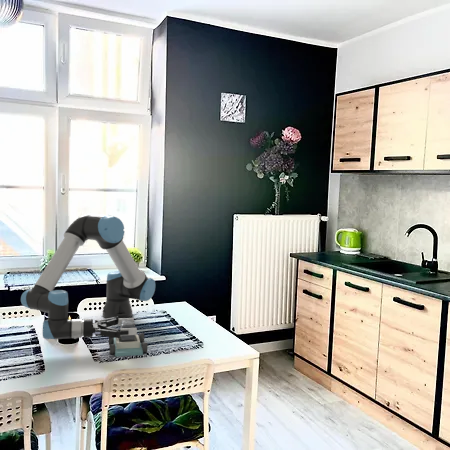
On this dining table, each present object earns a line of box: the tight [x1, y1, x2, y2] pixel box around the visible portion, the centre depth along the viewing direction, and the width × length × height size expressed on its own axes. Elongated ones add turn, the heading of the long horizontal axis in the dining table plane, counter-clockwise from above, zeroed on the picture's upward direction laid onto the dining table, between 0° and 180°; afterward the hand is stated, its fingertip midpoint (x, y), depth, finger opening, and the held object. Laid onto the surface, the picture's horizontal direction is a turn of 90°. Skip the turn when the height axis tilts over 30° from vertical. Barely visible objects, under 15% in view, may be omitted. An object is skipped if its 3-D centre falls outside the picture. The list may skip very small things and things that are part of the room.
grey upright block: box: [120, 320, 136, 342], centre depth 201 cm, size 6×6×10 cm
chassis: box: [108, 332, 149, 357], centre depth 201 cm, size 18×15×4 cm
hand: (135, 326), depth 201 cm, fingers open, 13 cm apart
